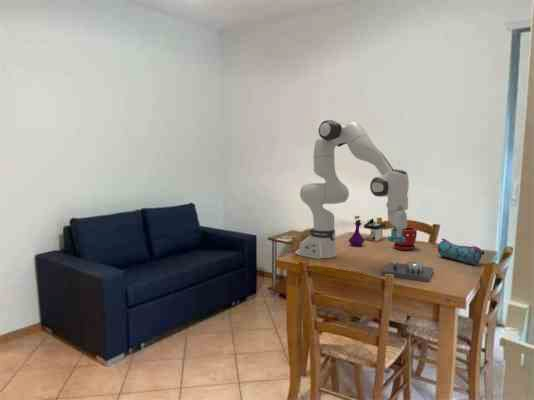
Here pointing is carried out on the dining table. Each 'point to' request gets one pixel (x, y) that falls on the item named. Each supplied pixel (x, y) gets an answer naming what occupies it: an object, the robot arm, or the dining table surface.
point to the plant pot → (407, 239)
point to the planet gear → (396, 239)
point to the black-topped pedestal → (374, 229)
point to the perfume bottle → (356, 235)
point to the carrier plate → (408, 270)
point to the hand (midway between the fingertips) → (396, 235)
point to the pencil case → (460, 252)
